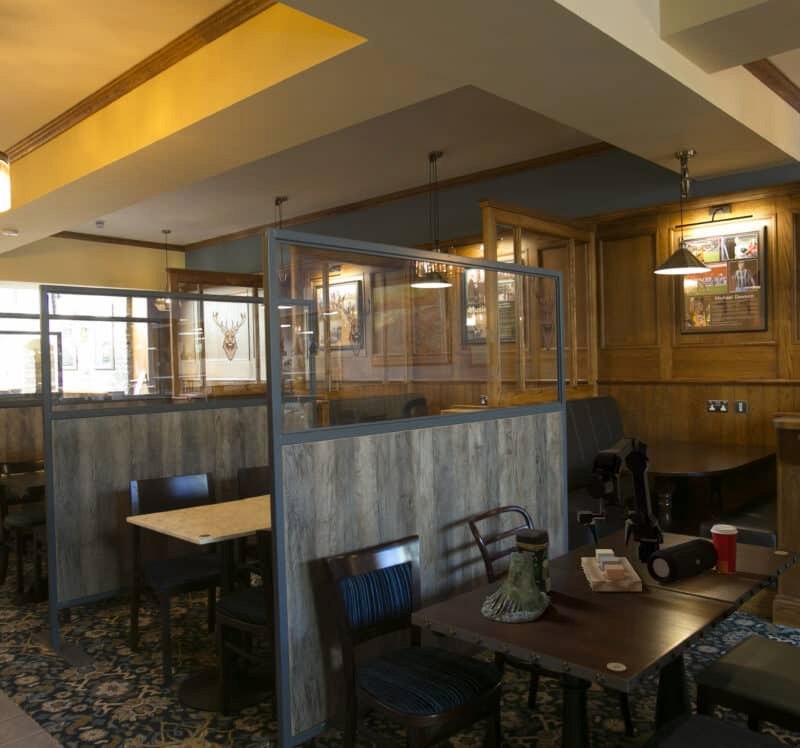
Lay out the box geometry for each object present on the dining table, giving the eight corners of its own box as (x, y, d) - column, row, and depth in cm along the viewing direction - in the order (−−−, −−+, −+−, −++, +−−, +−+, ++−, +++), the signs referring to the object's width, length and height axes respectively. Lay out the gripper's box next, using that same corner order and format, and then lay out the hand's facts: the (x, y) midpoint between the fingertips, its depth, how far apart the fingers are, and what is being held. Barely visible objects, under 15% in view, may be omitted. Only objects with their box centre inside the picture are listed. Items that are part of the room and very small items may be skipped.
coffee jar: (513, 592, 210) (510, 530, 210) (525, 585, 216) (523, 524, 216) (542, 597, 204) (540, 533, 204) (554, 590, 210) (552, 527, 210)
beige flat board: (625, 566, 232) (625, 557, 232) (642, 591, 206) (641, 580, 206) (581, 566, 234) (581, 557, 233) (592, 591, 208) (592, 581, 208)
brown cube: (621, 581, 213) (621, 564, 213) (624, 586, 208) (624, 569, 208) (604, 581, 214) (604, 564, 214) (607, 586, 209) (606, 569, 209)
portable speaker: (673, 589, 206) (672, 555, 206) (644, 581, 215) (643, 548, 215) (722, 571, 221) (721, 540, 221) (693, 565, 229) (692, 534, 229)
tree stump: (464, 613, 195) (470, 547, 198) (512, 613, 207) (517, 551, 211) (515, 627, 181) (520, 555, 184) (563, 626, 193) (568, 558, 196)
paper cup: (735, 568, 224) (733, 524, 224) (742, 575, 217) (740, 530, 217) (709, 568, 226) (707, 524, 226) (715, 575, 218) (713, 529, 218)
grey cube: (616, 572, 222) (616, 556, 222) (619, 577, 217) (618, 560, 217) (600, 572, 222) (599, 556, 222) (602, 577, 218) (602, 561, 218)
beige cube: (612, 564, 231) (611, 549, 231) (614, 568, 226) (614, 553, 226) (596, 564, 231) (595, 549, 231) (598, 568, 226) (598, 553, 226)
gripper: (580, 498, 205) (582, 552, 205) (647, 498, 202) (649, 553, 202) (576, 492, 216) (578, 543, 216) (640, 491, 213) (642, 543, 213)
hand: (611, 546), depth 211 cm, fingers open, 8 cm apart
